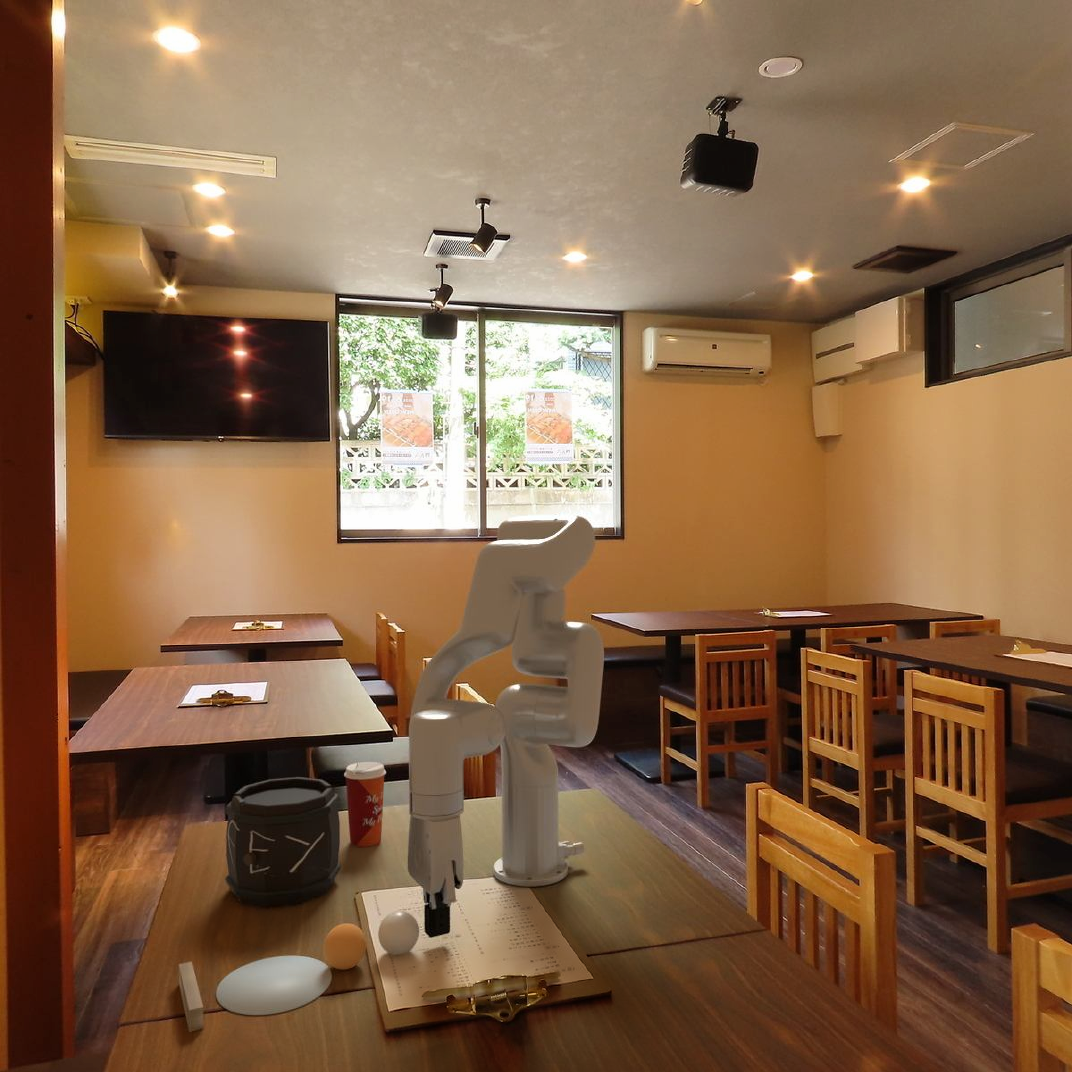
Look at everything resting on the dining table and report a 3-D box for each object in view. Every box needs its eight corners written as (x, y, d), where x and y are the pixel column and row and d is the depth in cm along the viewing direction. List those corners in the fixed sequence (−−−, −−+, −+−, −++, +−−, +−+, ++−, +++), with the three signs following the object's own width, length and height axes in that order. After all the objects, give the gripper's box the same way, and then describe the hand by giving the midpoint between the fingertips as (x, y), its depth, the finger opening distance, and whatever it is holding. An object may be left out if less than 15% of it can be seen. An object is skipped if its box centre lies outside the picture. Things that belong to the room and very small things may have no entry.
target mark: (317, 948, 118) (317, 946, 118) (344, 996, 106) (344, 994, 106) (209, 973, 111) (209, 971, 111) (225, 1027, 99) (225, 1025, 99)
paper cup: (377, 850, 154) (376, 773, 154) (337, 847, 156) (337, 771, 156) (393, 835, 162) (392, 761, 162) (355, 832, 164) (354, 759, 164)
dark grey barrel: (198, 903, 133) (197, 802, 133) (271, 861, 150) (270, 771, 150) (295, 920, 127) (294, 814, 127) (360, 874, 144) (359, 781, 144)
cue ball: (379, 903, 118) (369, 944, 117) (390, 918, 113) (380, 961, 112) (416, 906, 120) (406, 946, 120) (428, 920, 115) (419, 963, 115)
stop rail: (191, 981, 109) (191, 961, 109) (203, 1028, 99) (203, 1006, 99) (179, 984, 109) (178, 964, 109) (189, 1032, 98) (189, 1010, 98)
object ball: (367, 933, 117) (341, 908, 115) (379, 950, 112) (353, 924, 110) (337, 966, 115) (310, 941, 113) (348, 985, 110) (320, 959, 108)
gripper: (393, 791, 124) (394, 918, 124) (430, 821, 110) (431, 963, 110) (441, 783, 127) (442, 907, 127) (483, 812, 114) (484, 949, 114)
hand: (437, 933), depth 119 cm, fingers closed
